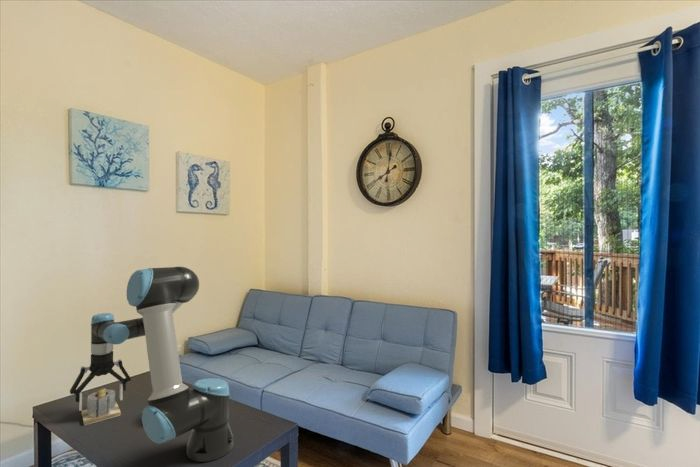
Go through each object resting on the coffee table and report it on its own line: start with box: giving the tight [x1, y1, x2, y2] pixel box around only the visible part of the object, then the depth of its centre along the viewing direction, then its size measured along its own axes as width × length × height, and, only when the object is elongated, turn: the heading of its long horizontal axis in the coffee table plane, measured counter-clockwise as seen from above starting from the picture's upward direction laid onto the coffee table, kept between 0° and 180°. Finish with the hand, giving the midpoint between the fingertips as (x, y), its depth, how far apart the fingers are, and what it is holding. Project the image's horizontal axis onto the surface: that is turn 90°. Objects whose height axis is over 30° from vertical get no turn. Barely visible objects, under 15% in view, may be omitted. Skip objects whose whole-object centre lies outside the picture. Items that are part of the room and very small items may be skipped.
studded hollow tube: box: [86, 388, 116, 417], centre depth 143 cm, size 9×9×7 cm
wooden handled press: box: [80, 387, 122, 427], centre depth 143 cm, size 12×12×10 cm
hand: (101, 404), depth 143 cm, fingers open, 13 cm apart
